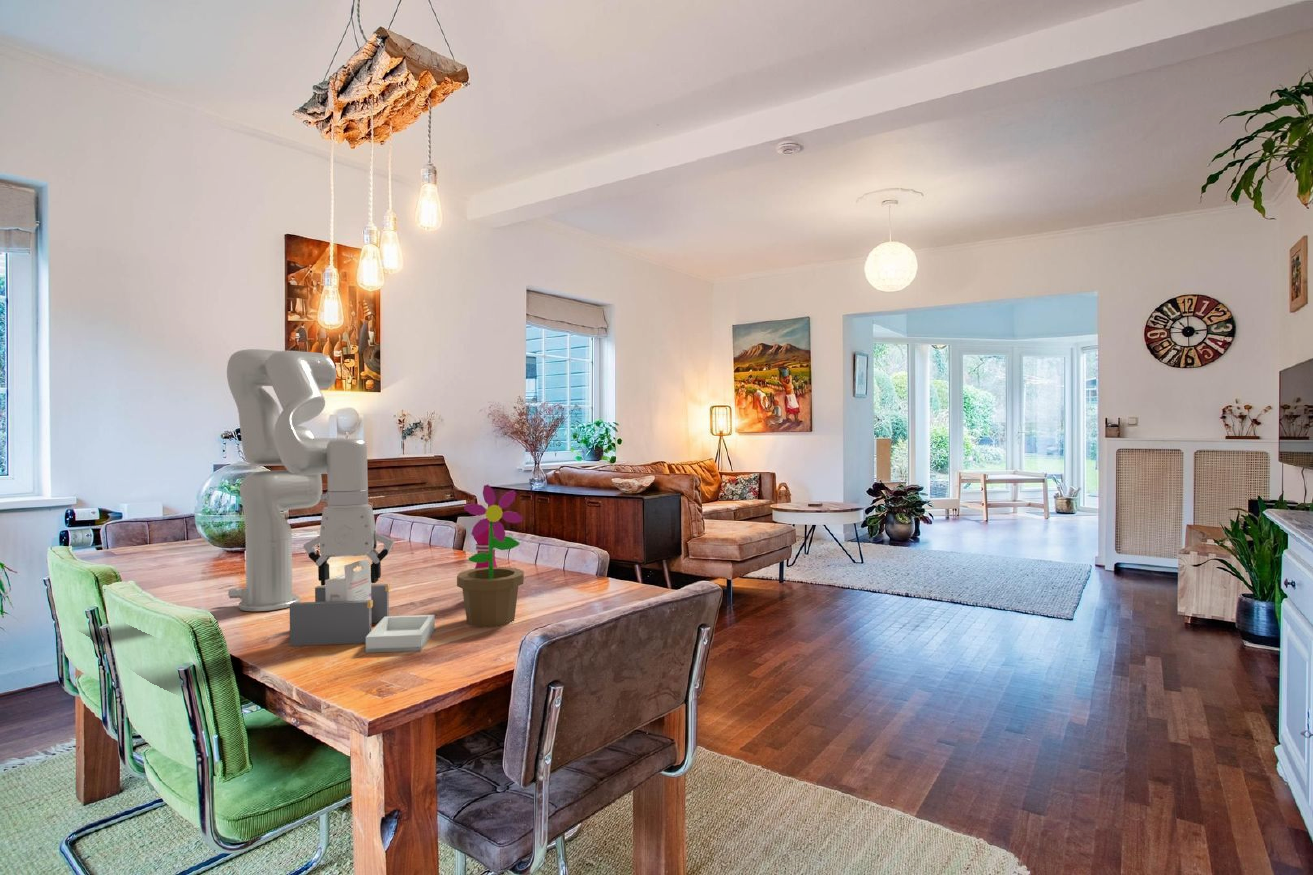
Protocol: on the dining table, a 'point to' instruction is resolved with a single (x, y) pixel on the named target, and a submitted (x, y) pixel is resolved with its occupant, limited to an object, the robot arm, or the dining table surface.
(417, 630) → the tray
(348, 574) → the ink cartridge box
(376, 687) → the dining table surface
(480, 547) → the pepper mill
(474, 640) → the dining table surface
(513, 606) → the flowerpot
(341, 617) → the bay
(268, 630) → the dining table surface
